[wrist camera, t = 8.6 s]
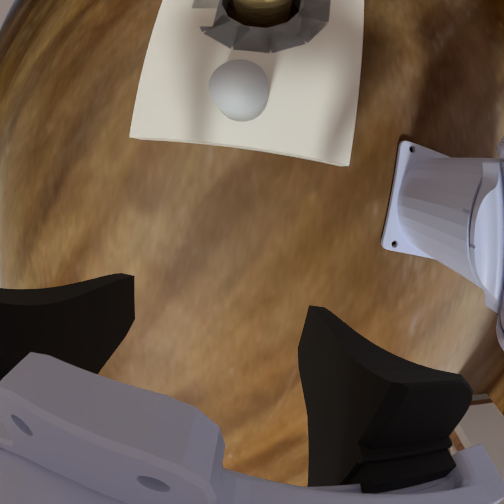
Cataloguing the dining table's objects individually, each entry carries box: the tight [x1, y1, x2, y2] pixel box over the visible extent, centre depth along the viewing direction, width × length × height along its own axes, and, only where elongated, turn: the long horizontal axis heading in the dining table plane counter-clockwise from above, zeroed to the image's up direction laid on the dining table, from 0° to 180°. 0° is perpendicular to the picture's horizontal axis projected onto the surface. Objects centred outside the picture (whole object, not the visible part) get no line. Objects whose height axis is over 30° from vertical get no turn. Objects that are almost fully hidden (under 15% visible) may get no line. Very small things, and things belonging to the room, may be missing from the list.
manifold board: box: [129, 0, 364, 166], centre depth 14 cm, size 14×16×5 cm
